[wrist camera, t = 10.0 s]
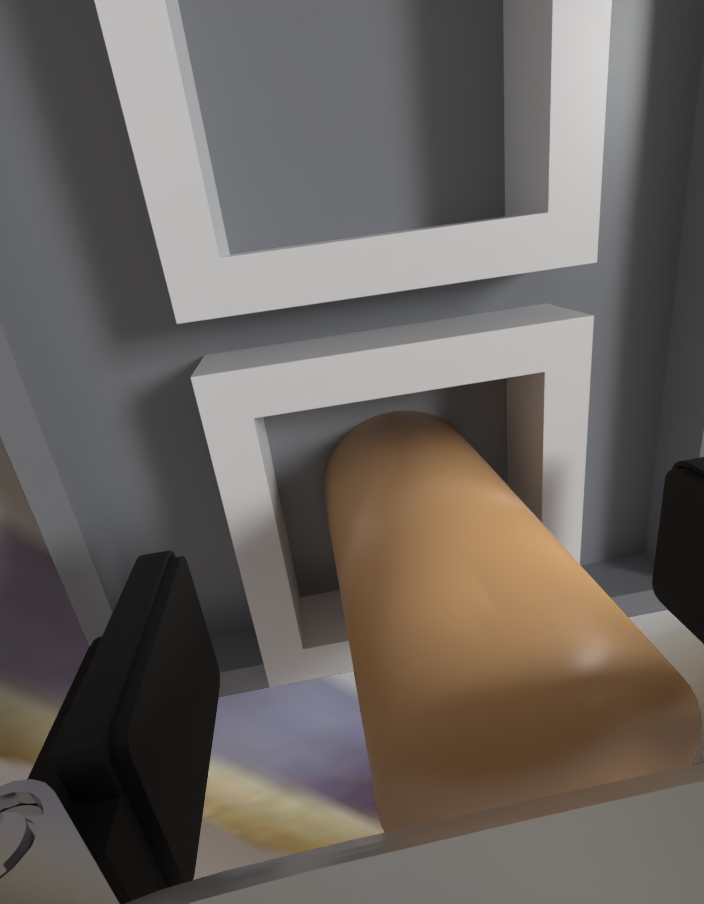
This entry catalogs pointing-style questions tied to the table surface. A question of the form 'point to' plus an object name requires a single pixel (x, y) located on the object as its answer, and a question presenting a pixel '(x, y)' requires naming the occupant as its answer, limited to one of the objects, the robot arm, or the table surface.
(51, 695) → the table surface
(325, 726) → the table surface
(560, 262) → the tray
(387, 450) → the rounded peg
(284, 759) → the table surface
